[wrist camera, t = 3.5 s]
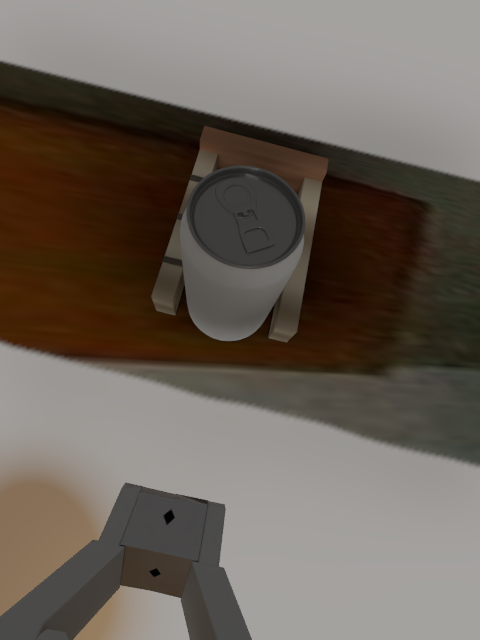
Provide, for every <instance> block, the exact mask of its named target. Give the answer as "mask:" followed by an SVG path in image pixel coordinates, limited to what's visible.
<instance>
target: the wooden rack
mask: <svg viewBox="0 0 480 640" xmlns="http://www.w3.org/2000/svg"><path fill="white" fill-rule="evenodd" d="M328 160H329V159H328V158H324V157H320V156H316V155H312V154H309V153H305V152H301V151H297V150H294V149H290V148H286V147H282V146H278V145H275V144H271V143H267V142H263V141H260V140H256V139H252V138H248V137H245V136H241V135H237V134H233V133H229V132H226V131H222V130H218V129H214V128H211V127H207V126H204V129H203V132H202V135H201V138H200V151H199V154H198V157H197V160H196V163H195V166H194V169H193V172H192V174H191V176H190V181H189V184H188V187H187V190H186V193H185V196H184V199H183V202H182V205H181V208H180V211H179V213H178V215H177V220H176V223H175V226H174V229H173V232H172V235H171V238H170V241H169V244H168V248H167V251H166V254H165V256H164V257H163V260H162V261H163V263H162V266H161V269H160V272H159V275H158V278H157V281H156V284H155V287H154V290H153V293H152V296H151V297H152V300H153V303H154V305H155V308H156V311H159V312H163V313H167V314H171V315H176V312H177V309H178V305H179V302H180V298H181V295H182V292H183V288H184V285H185V282H184V273H183V264H182V255H181V245H180V226H181V220H182V216H183V214H184V211H185V209H186V207H187V204H188V200H189V197H190V195H191V193H192V191H193V189H194V188H195V186H196V185H197V184H198V183H199V182H200V181H201V180H202V179H203V178H204V177H206V176H207V175H208V174H210V173H212V172H214V171H216V170H218V169H221V168H225V167H229V166H238V165H245V166H253V167H258V168H262V169H265V170H267V171H270V172H272V173H274V174H276V175H277V176H279V177H280V178H282V179H283V180H284V181H286V182H287V183H288V184H289V185H290V186H291V187H292V188H293V189H294V191H295V192H296V193H297V195H298V197H299V198H300V200H301V203H302V205H303V208H304V212H305V230H304V246H303V251H302V254H301V257H300V260H299V262H298V264H297V266H296V268H295V270H294V271H293V273H292V275H291V277H290V278H289V280H288V282H287V284H286V285H285V287H284V289H283V290H282V292H281V294H280V295H279V297H278V299H277V301H276V302H275V306H274V311H273V316H272V321H271V326H270V331H269V336H268V338H270V339H275V340H279V341H283V342H287V341H288V340H289V339H290V338H291V337H292V336H293V335H294V334H295V333H296V332H297V328H298V322H299V316H300V310H301V304H302V298H303V292H304V286H305V280H306V275H307V269H308V263H309V257H310V251H311V245H312V239H313V233H314V227H315V221H316V215H317V209H318V203H319V198H320V192H321V186H322V181H323V179H324V177H325V175H326V173H327V167H328Z"/></svg>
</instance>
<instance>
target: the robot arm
mask: <svg viewBox="0 0 480 640" xmlns="http://www.w3.org/2000/svg"><path fill="white" fill-rule="evenodd" d="M224 517H225V505H224V504H219V503H214V502H210V501H208V500H202V499H198V498H193V497H188V496H183V495H178V494H172V493H167V492H163V491H158V490H155V489H150V488H146V487H143V486H138V485H134V484H129V483H125V484H124V486H123V487H122V489H121V491H120V493H119V496H118V498H117V500H116V503H115V505H114V507H113V509H112V512H111V514H110V516H109V518H108V521H107V523H106V525H105V527H104V530H103V532H102V534H101V536H100V539H99V541H97V540H92V541H91V542H90V543H89V544H88V545H86V546H85V547H84V548H83V549H81V550H80V551H79V552H78V553H77V554H75V555H74V556H73V557H72V558H71V559H69V560H68V561H67V562H66V563H64V564H63V565H62V566H61V567H60V568H59V569H57V570H56V571H55V572H54V573H52V574H51V575H50V576H49V577H48V578H46V579H45V580H44V581H43V582H41V583H40V584H39V585H38V586H37V587H35V588H34V589H33V590H32V591H31V592H29V593H28V594H27V595H26V596H25V597H23V598H22V599H21V600H20V601H19V602H17V603H16V604H15V605H14V606H12V607H11V608H10V609H9V610H8V611H6V612H5V613H4V614H3V615H2V616H0V640H73V639H74V638H75V637H76V635H77V634H78V633H79V632H80V631H81V630H82V629H83V628H84V627H85V625H86V624H87V623H88V622H89V621H90V620H91V618H93V617H94V615H95V614H96V613H97V612H98V611H99V610H100V609H101V608H102V607H103V605H104V604H105V603H106V602H107V601H108V600H109V599H110V598H111V597H112V595H113V594H114V593H115V592H116V591H117V590H118V589H119V588H120V585H122V586H128V587H134V588H140V589H145V590H151V591H155V592H159V593H163V594H167V595H171V596H175V597H179V598H181V603H182V607H183V611H184V616H185V620H186V624H187V628H188V632H189V637H190V640H252V639H251V636H250V634H249V631H248V629H247V626H246V624H245V621H244V618H243V616H242V613H241V611H240V608H239V606H238V603H237V600H236V598H235V595H234V593H233V590H232V588H231V586H230V583H229V580H228V577H227V575H226V572H225V570H224V568H222V567H219V560H220V551H221V542H222V534H223V526H224Z"/></svg>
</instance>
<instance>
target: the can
mask: <svg viewBox="0 0 480 640" xmlns="http://www.w3.org/2000/svg"><path fill="white" fill-rule="evenodd" d="M304 230H305V212H304V208H303V205H302V203H301V200H300V198H299V197H298V195H297V193H296V192H295V191H294V189H293V188H292V187H291V186H290V185H289V184H288V183H287V182H286V181H284V180H283V179H282V178H280V177H279V176H277V175H276V174H274V173H272V172H270V171H267V170H265V169H262V168H258V167H253V166H245V165H238V166H229V167H225V168H221V169H218V170H216V171H214V172H212V173H210V174H208V175H207V176H206V177H204V178H203V179H202V180H201V181H200V182H199V183H198V184H197V185H196V186H195V188H194V189H193V191H192V193H191V195H190V197H189V200H188V204H187V207H186V209H185V211H184V214H183V216H182V220H181V226H180V245H181V255H182V264H183V273H184V282H185V291H186V299H187V306H188V311H189V314H190V316H191V319H192V320H193V322H194V324H195V325H196V326H197V327H198V328H199V329H200V330H201V331H202V332H203V333H205V334H206V335H208V336H210V337H212V338H214V339H218V340H222V341H236V340H240V339H243V338H246V337H248V336H250V335H251V334H253V333H254V332H255V331H256V330H257V329H258V328H259V327H260V326H261V325H262V323H263V322H264V320H265V319H266V317H267V316H268V314H269V312H270V311H271V309H272V307H273V306H274V304H275V302H276V301H277V299H278V297H279V295H280V294H281V292H282V290H283V289H284V287H285V285H286V284H287V282H288V280H289V278H290V277H291V275H292V273H293V271H294V270H295V268H296V266H297V264H298V262H299V260H300V257H301V254H302V251H303V246H304Z"/></svg>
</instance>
